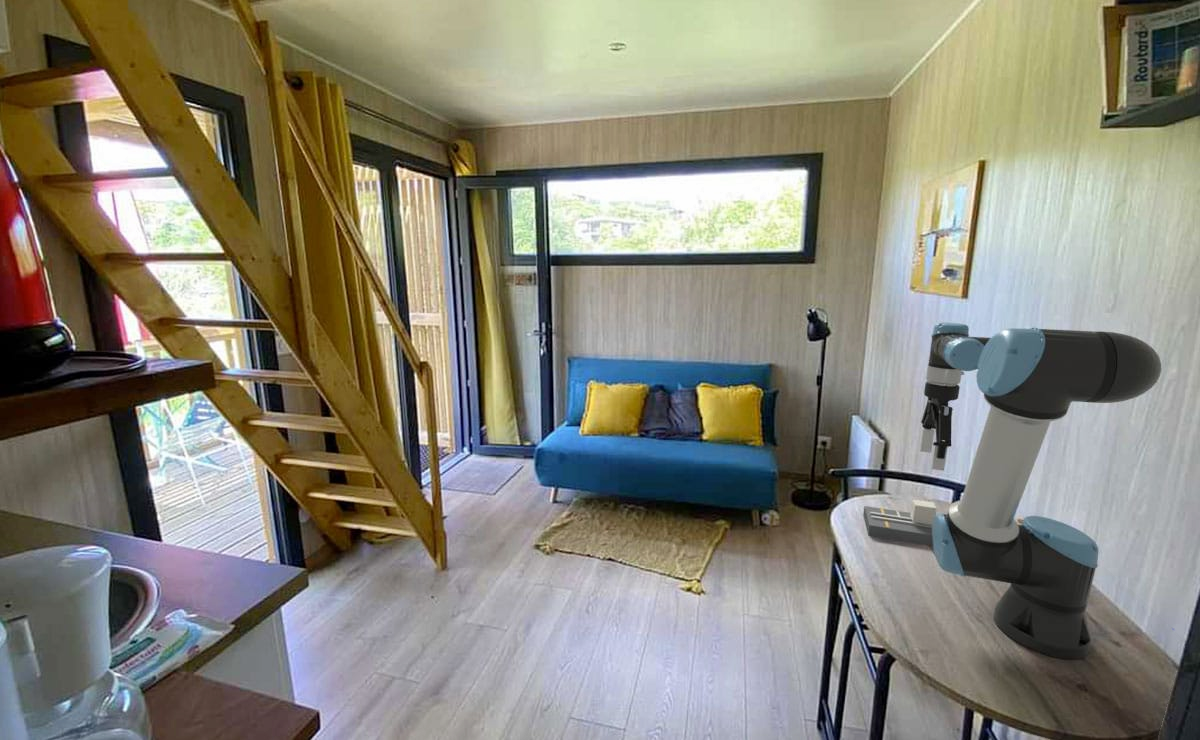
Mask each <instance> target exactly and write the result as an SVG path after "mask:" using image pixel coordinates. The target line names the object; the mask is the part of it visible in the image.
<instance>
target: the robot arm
mask: <svg viewBox="0 0 1200 740" xmlns="http://www.w3.org/2000/svg"><path fill="white" fill-rule="evenodd" d="M969 330H970V329H969V325H967V324H965V323H958V322H956V323H955V322H937V323H936V324H934V327H933V330H932V334H931V336H930V337H931V343H930V351H929V357H928V364H927V369H926V376H925V380H926V382H925V383H924V384H925V386H924V391H923V394H924V396H925V397H927V401H926V405H925V409H924V412H923V415H922V418H921V424H922V431H921V437H920V444H919V445H920V446H919V452H923V453H930V454H931V453H932V458H931V459H932V460H931V466H930V469H931V470H935V471H943V472H944V471H945V467H946V460H947V454H948V448H950V447H952V417H953V416H952V415H953V410H954V409H953V407H952V406H951V407H950V406H949V402H950V401H956V400H958V399H959V393H960V388H961V387H960V385H959V384H961V380H962V376H963V375H965V372H971V371H976V370H977V371H976V384H977V387H978V390H979V391H981V393H983V399H984V400H985V402H986V403H987V404H988V405H989V406H990V407H989V411H988V414H987V417H986V421H985V424H984V427H983V430H982V433H981V437H980V440H979V443H978V445H977V446H978V447H977V448H976V452H975V456H974V459H973V461H972V462H973V463H972V465H971V467H970V471H969V475H968V478H967V481H966V485H965V487H964V490H963V493H962V497H961V499H960V500H956V501H954V502H953V503H951V504H950V506H949V508H948V512H947V514H945V513H943V512H941V513H936V515H935V516H934V518H933V523H932V536H933V546H932V547H933V550H934V551H933V552H934V555H935V558H936V562H937V563H938V566H939V567H940V569H941V570H943V571H945V572H946V573H949V574H952V575H953V574H954V575H958V576H961V577H969V578H975V579H982V580H989V581H995V582H1000V583H1007V584H1010V586H1009V587H1008V588H1007V589H1006V590H1005V592H1004V594H1002V596H1001V597H1000V598H999V600H998V601H997V603H996V605H995V607H994V611H993V620H994V623H995V624H996V626H997V627H998V628H999V629H1000V630H1001V631H1002V633H1004V634H1005V635H1006V636H1007V637H1009V638H1010V639H1011V640H1014V641H1015V642H1017V643H1018V644H1020V645H1022V646H1024V647H1026V648H1028V649H1031V650H1032V651H1035V652H1037V653H1040V654H1044V655H1046V656H1050V657H1054V658H1058V659H1067V660H1078V659H1082V658H1085V657H1087V656H1088V654H1089V653H1090V652H1089V651H1090V649H1091V645H1092V637H1091V633H1090V632H1091V631H1090V627H1089V623H1088V622H1089V621H1088V619H1087V614H1086V610H1087V605H1088V602H1089V597H1090V592H1091V588H1092V585H1093V581H1094V577H1095V573H1096V569H1097V568H1098V565H1099V564H1098V562H1099V561H1098V560H1099V546H1098V544H1097V543H1096V541H1094V539H1093V538H1091V537H1090V536H1089V535H1088V534H1086V533H1085V532H1083V531H1081V530H1080V529H1078V528H1075V527H1074V526H1071V525H1069V524H1067V523H1064V522H1062V521H1059V520H1056V519H1052V518H1049V517H1045V516H1040V515H1029V516H1025V517H1024V520H1023V521H1022V525H1018V524H1017V522H1016V521H1015V519H1016V518H1015V516H1016V513H1017V510H1018V508H1019V505H1020V503H1021V500H1022V498H1023V494H1024V492H1025V491H1026V487H1027V485H1028V481H1029V479H1030V476H1031V475H1032V471H1033V469H1034V466H1035V463H1036V461H1037V458H1038V455H1039V453H1040V451H1041V448H1042V445H1043V443H1044V440H1045V438H1046V436H1047V435H1046V434H1047V433H1048V429H1049V428H1050V425H1051V422H1054V421H1058V420H1061V419H1063V418H1064V417H1065V416H1066V415H1067V413H1068V410H1069V408H1070V405H1071V403H1072V402H1075V403H1076V402H1078V403H1094V404H1095V403H1097V404H1111V403H1113V404H1114V403H1121V402H1126V401H1129V400H1131V399H1135V398H1139V397H1140V396H1142V395H1144V394H1145V393H1146V392H1148V391H1150V389H1152V388H1154V386H1155V385H1156V383H1157V382H1158V380H1159V379H1160V377H1161V376H1160V375H1161V373H1162V363H1161V359H1160V356H1159V355H1158V353H1157V352H1156V351H1155V349H1154V348H1153V347H1152V346H1150V344H1148V343H1146V342H1145V341H1143V340H1141V339H1139V338H1137V337H1135V336H1132V335H1128V334H1124V333H1119V332H1114V331H1113V332H1112V331H1101V330H1100V331H1093V330H1091V331H1090V330H1072V329H1071V330H1070V329H1050V328H1048V329H1047V328H1038V327H1032V326H1031V327H1025V328H1005V329H1002V330H1000V331H998V332H996V333H995V334H993V335H992V336H991V337H985V336H983V337H981V336H970V335H969ZM934 437H935V441H934Z"/></svg>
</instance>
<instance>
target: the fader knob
mask: <svg viewBox="0 0 1200 740" xmlns="http://www.w3.org/2000/svg"><path fill="white" fill-rule="evenodd" d="M911 501H912V503H911V508H910V513H911V514H910V517H911V519H912V521H913V522H915V523H922V524H928V525H932V523H933V518H934V516H935V515H936V514H937V510H938V509H937V506H936V505H935V502H931V501H925V500H924V501H923V500H917V499H912V500H911Z"/></svg>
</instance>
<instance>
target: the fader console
mask: <svg viewBox="0 0 1200 740" xmlns="http://www.w3.org/2000/svg"><path fill="white" fill-rule="evenodd" d="M910 514H911V512H906V511H900V510H896V509H895V510H894V509H888V508H879V507H873V506H867V505H864V506H863V514H862V516H863V519H864V524H865V528H866V532H867V535H868V536H872V537H875V538H876V537H878V538H884V539H889V540H890V539H891V540H895V541H901V542H907V543H914V544H918V545H919V544H920V545H924V544H925V546H932V547H934V546H933V536H932V525H928V524H922V523H915V522H913V521H912V519H911V517H910Z"/></svg>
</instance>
